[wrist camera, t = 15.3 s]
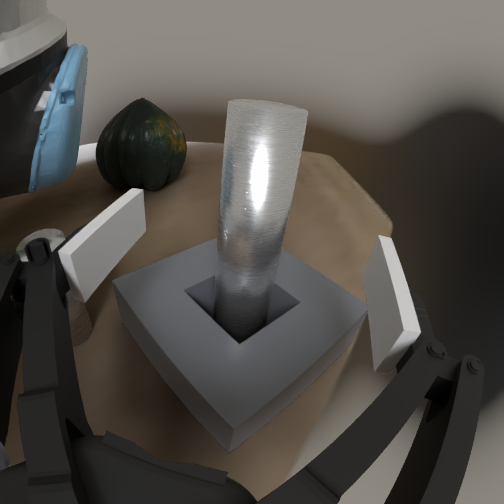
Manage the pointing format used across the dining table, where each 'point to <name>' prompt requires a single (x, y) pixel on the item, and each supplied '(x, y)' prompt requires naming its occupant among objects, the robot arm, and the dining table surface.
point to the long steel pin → (254, 209)
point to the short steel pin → (77, 309)
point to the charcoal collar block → (226, 348)
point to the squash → (141, 147)
